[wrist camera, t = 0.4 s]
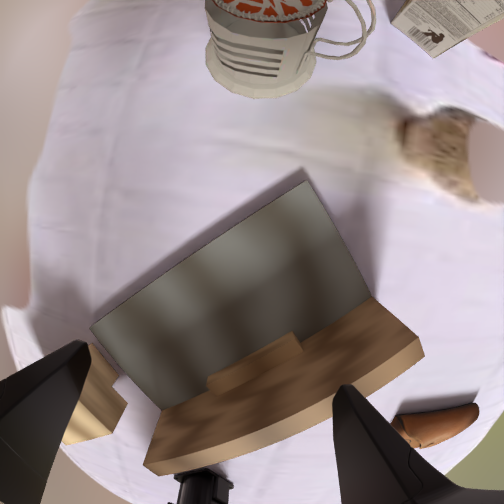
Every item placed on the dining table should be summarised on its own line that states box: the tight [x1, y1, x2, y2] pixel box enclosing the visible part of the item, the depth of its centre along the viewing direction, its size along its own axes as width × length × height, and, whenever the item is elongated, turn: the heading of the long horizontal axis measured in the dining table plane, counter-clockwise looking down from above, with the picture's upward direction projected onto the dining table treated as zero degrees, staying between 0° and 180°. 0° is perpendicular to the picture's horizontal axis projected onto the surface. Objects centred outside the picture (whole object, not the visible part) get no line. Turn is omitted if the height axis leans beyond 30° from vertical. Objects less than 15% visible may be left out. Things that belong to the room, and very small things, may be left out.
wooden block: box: [62, 343, 128, 445], centre depth 20 cm, size 10×7×11 cm
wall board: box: [89, 180, 425, 476], centre depth 20 cm, size 24×14×9 cm, turn 123°
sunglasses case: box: [391, 403, 479, 449], centre depth 27 cm, size 18×7×7 cm
